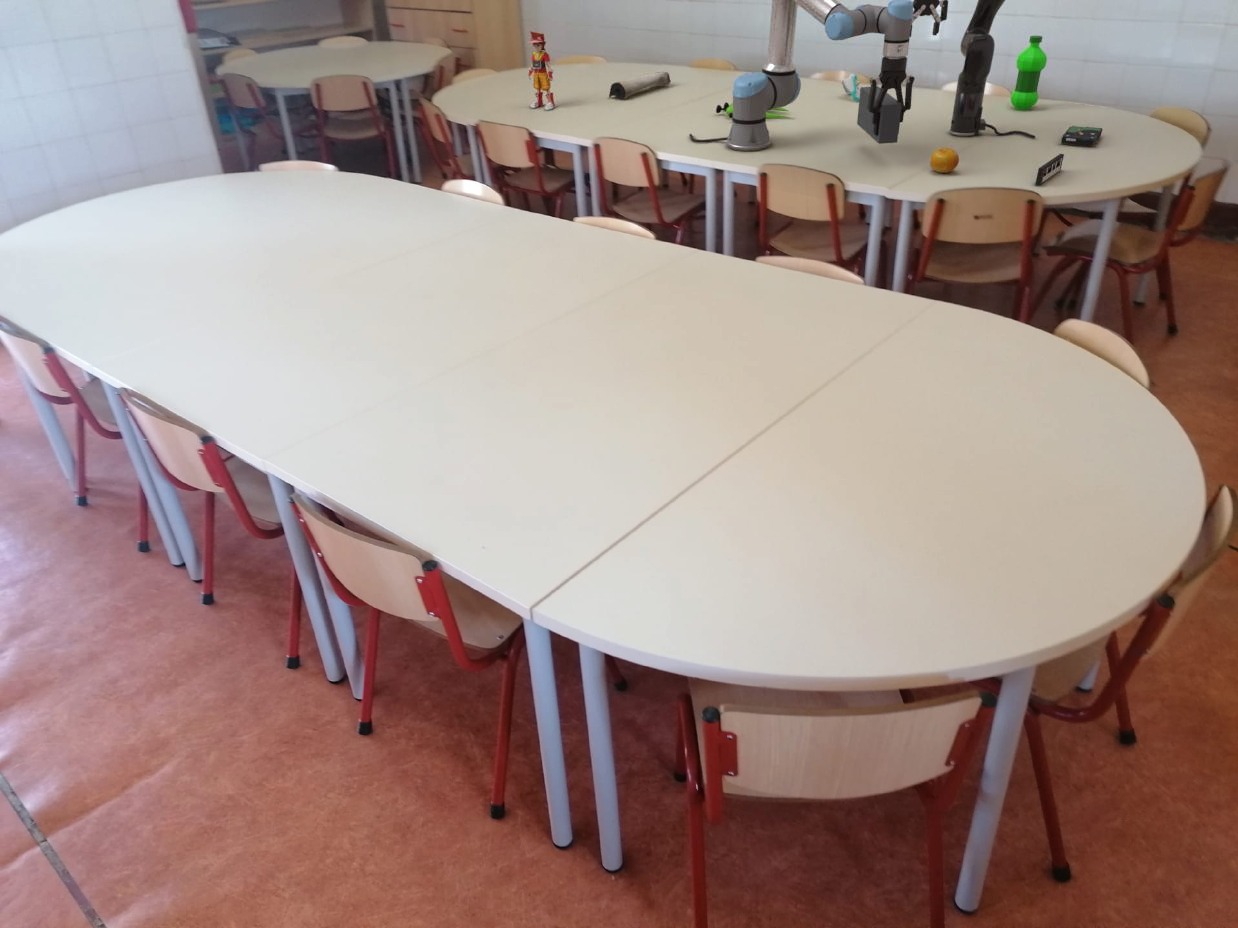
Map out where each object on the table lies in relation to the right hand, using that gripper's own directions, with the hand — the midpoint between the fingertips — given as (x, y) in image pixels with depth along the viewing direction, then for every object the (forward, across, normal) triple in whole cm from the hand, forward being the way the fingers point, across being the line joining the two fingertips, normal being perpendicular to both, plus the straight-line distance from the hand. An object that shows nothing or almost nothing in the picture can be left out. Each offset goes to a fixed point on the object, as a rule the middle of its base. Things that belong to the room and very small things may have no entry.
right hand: (921, 36), depth 295 cm
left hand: (+24, -16, -23) cm, 37 cm away
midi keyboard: (+34, +27, -49) cm, 65 cm away
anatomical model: (+34, 0, +66) cm, 75 cm away
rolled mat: (+34, -86, +103) cm, 138 cm away
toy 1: (+34, -129, +87) cm, 159 cm away
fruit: (+34, -1, -36) cm, 49 cm away
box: (+27, -16, -13) cm, 34 cm away
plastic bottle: (+34, +55, +32) cm, 72 cm away
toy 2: (+34, -44, +49) cm, 74 cm away
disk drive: (+34, +55, -14) cm, 66 cm away
